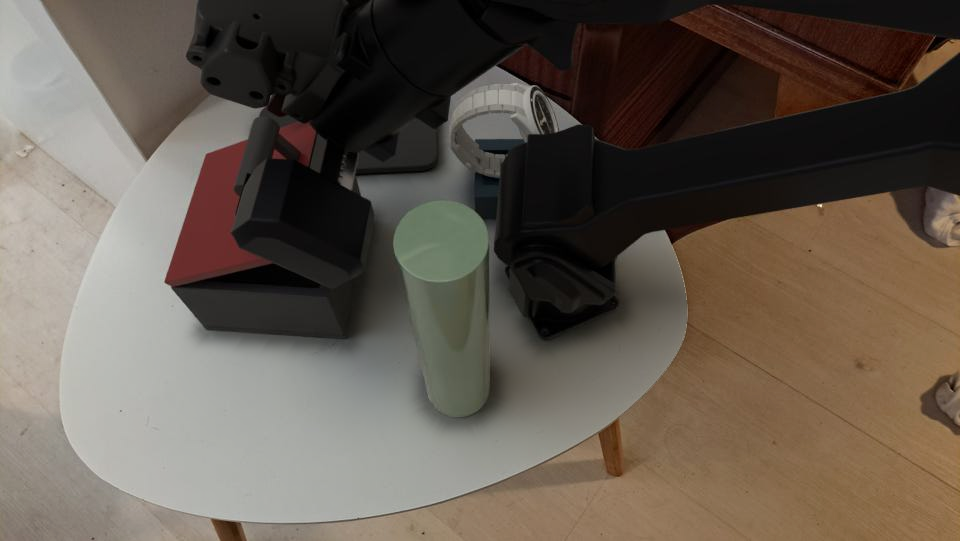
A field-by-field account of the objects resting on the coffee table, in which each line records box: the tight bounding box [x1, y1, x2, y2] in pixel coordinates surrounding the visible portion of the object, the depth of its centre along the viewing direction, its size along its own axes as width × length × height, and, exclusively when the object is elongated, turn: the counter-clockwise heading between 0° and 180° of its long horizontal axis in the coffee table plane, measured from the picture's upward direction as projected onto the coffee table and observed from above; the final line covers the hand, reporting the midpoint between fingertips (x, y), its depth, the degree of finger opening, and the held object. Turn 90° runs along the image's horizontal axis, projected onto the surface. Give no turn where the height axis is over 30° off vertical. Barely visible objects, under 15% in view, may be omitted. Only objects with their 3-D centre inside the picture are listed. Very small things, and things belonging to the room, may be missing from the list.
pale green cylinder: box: [392, 199, 491, 418], centre depth 42 cm, size 4×4×20 cm
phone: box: [258, 106, 438, 175], centre depth 61 cm, size 7×1×15 cm
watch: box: [448, 82, 560, 220], centre depth 54 cm, size 6×8×11 cm
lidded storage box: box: [170, 174, 362, 340], centre depth 52 cm, size 10×10×7 cm
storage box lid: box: [163, 116, 316, 288], centre depth 45 cm, size 11×10×4 cm
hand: (256, 170), depth 44 cm, fingers open, 9 cm apart
